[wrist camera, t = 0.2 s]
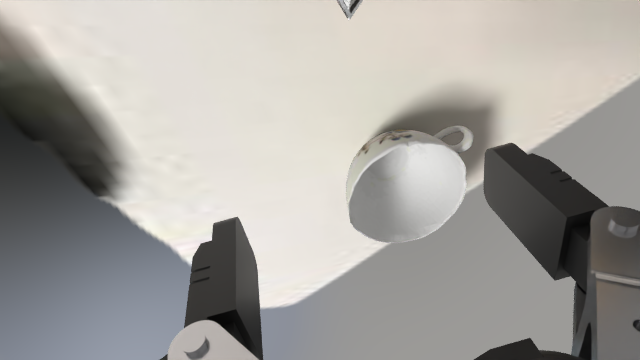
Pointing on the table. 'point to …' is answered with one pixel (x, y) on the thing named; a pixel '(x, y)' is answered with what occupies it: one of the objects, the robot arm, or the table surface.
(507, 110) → the table surface
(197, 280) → the robot arm
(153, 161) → the table surface
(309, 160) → the table surface
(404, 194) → the teacup
